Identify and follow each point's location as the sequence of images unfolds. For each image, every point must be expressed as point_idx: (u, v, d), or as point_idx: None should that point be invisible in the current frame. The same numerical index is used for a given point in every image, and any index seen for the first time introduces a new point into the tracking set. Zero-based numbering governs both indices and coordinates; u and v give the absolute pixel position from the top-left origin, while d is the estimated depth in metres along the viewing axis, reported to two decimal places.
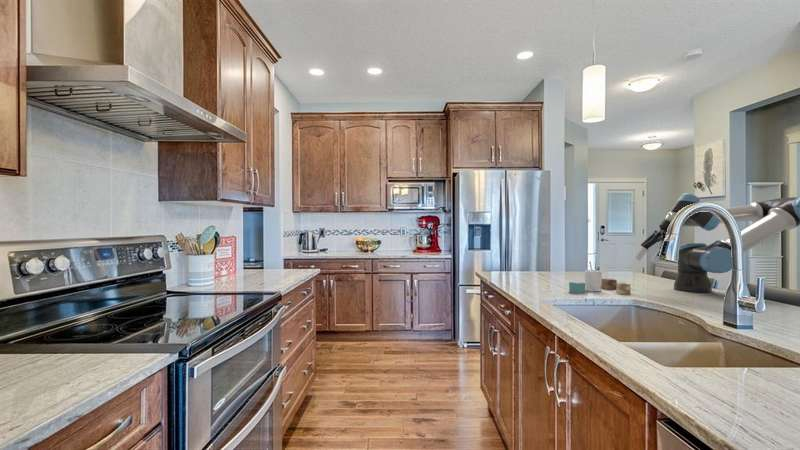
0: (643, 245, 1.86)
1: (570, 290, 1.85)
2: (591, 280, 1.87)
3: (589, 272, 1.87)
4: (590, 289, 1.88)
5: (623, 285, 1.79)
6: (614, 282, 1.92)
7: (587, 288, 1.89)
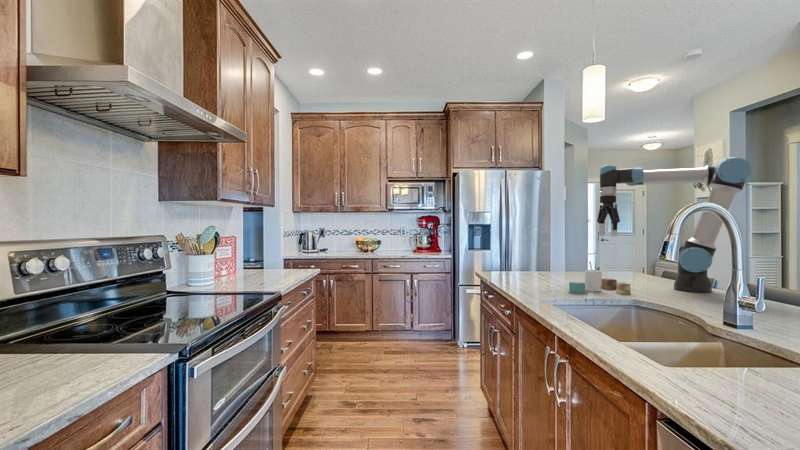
0: (599, 222, 2.05)
1: (570, 290, 1.85)
2: (591, 280, 1.87)
3: (589, 272, 1.87)
4: (590, 289, 1.88)
5: (623, 285, 1.79)
6: (614, 282, 1.92)
7: (587, 288, 1.89)
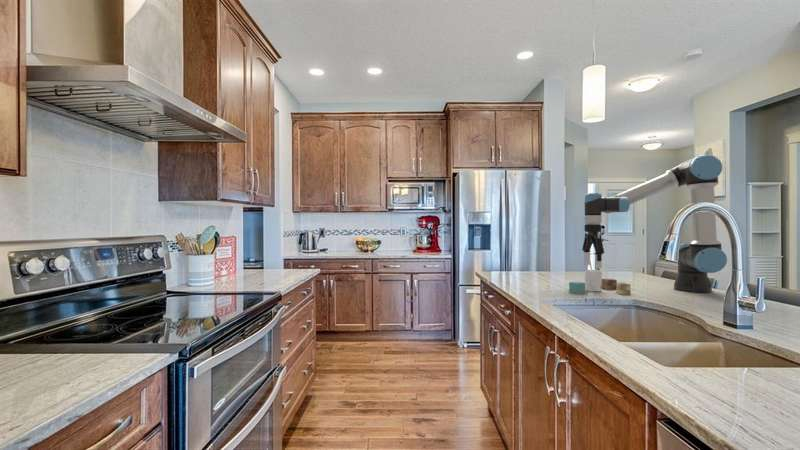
0: (584, 250, 1.97)
1: (570, 290, 1.85)
2: (591, 280, 1.87)
3: (589, 272, 1.87)
4: (590, 289, 1.88)
5: (623, 285, 1.79)
6: (614, 282, 1.92)
7: (587, 288, 1.89)
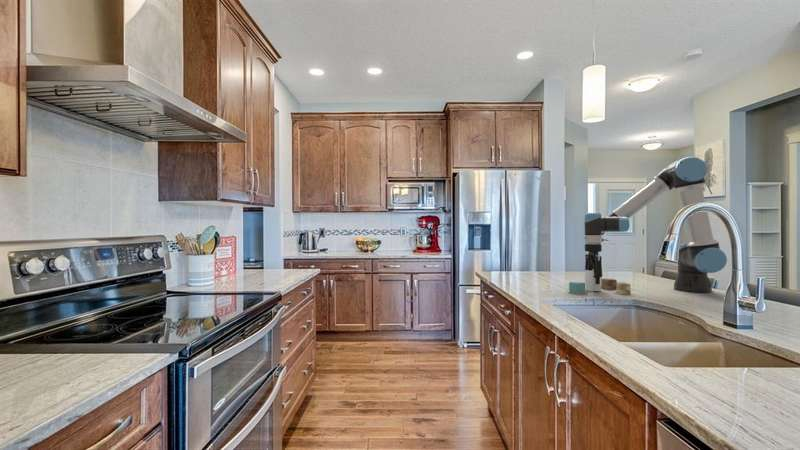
0: None
1: (570, 290, 1.85)
2: (591, 280, 1.87)
3: (589, 272, 1.87)
4: (590, 289, 1.88)
5: (623, 285, 1.79)
6: (614, 282, 1.92)
7: (587, 288, 1.89)
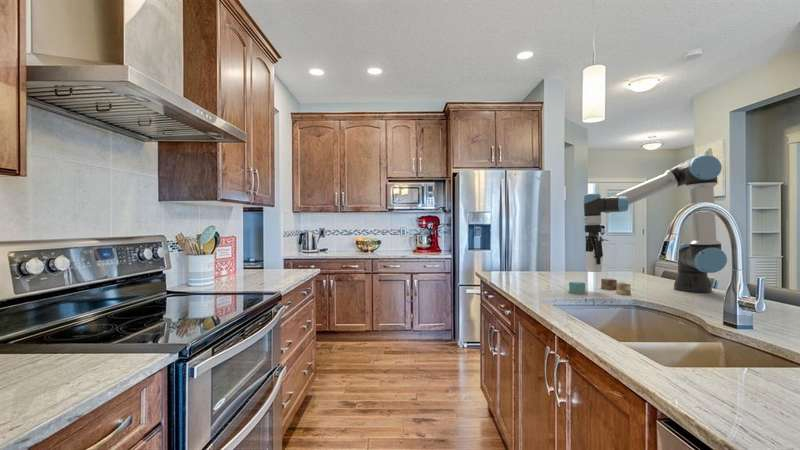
0: None
1: (570, 290, 1.85)
2: (592, 260, 1.87)
3: (589, 253, 1.87)
4: (591, 270, 1.87)
5: (623, 285, 1.79)
6: (614, 282, 1.92)
7: (588, 269, 1.89)
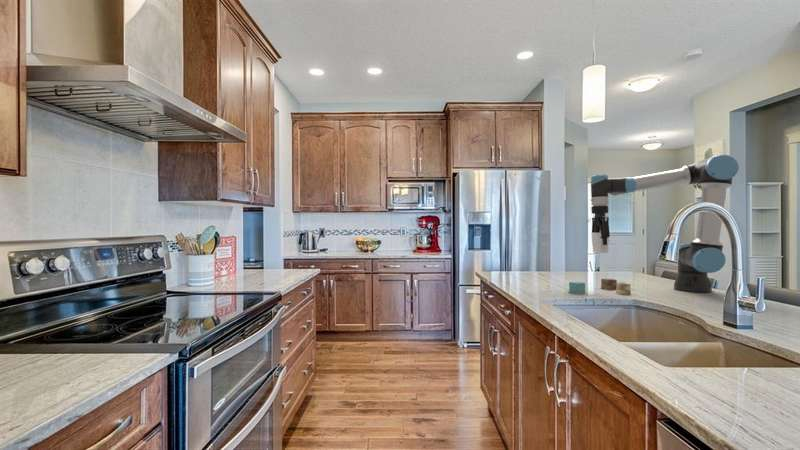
0: None
1: (570, 290, 1.85)
2: (599, 241, 1.87)
3: (596, 233, 1.88)
4: (597, 250, 1.88)
5: (623, 285, 1.79)
6: (614, 282, 1.92)
7: (594, 250, 1.90)
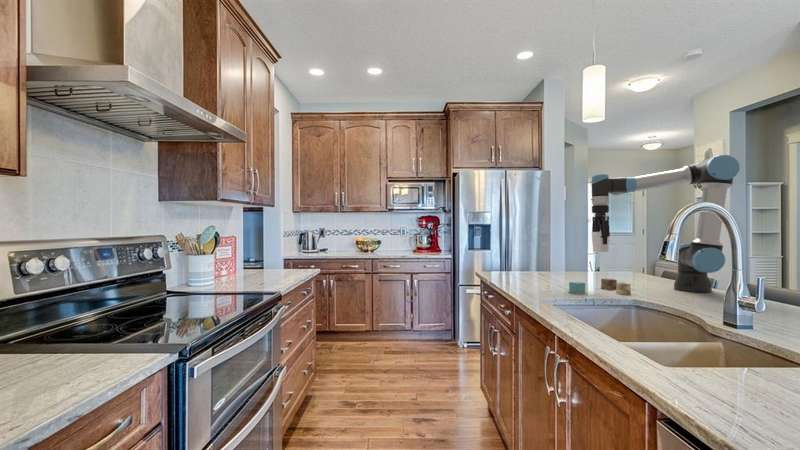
0: None
1: (570, 290, 1.85)
2: (599, 240, 1.87)
3: (596, 233, 1.88)
4: (597, 250, 1.88)
5: (623, 285, 1.79)
6: (614, 282, 1.92)
7: (594, 249, 1.90)
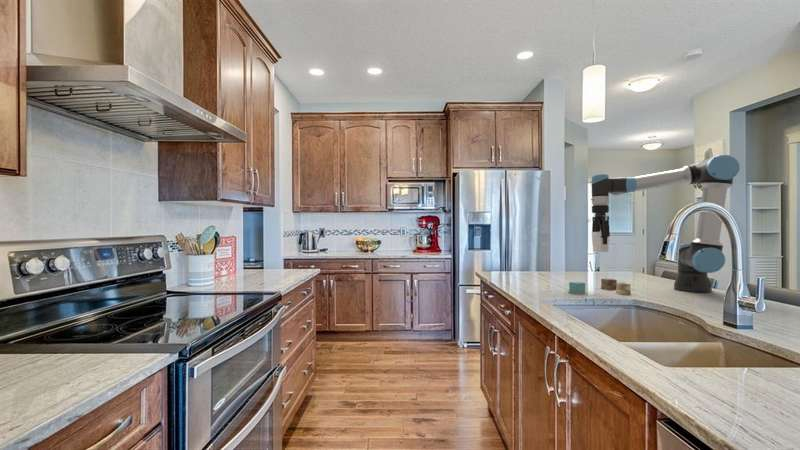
0: None
1: (570, 290, 1.85)
2: (599, 240, 1.87)
3: (596, 233, 1.88)
4: (597, 250, 1.88)
5: (623, 285, 1.79)
6: (614, 282, 1.92)
7: (594, 249, 1.90)
